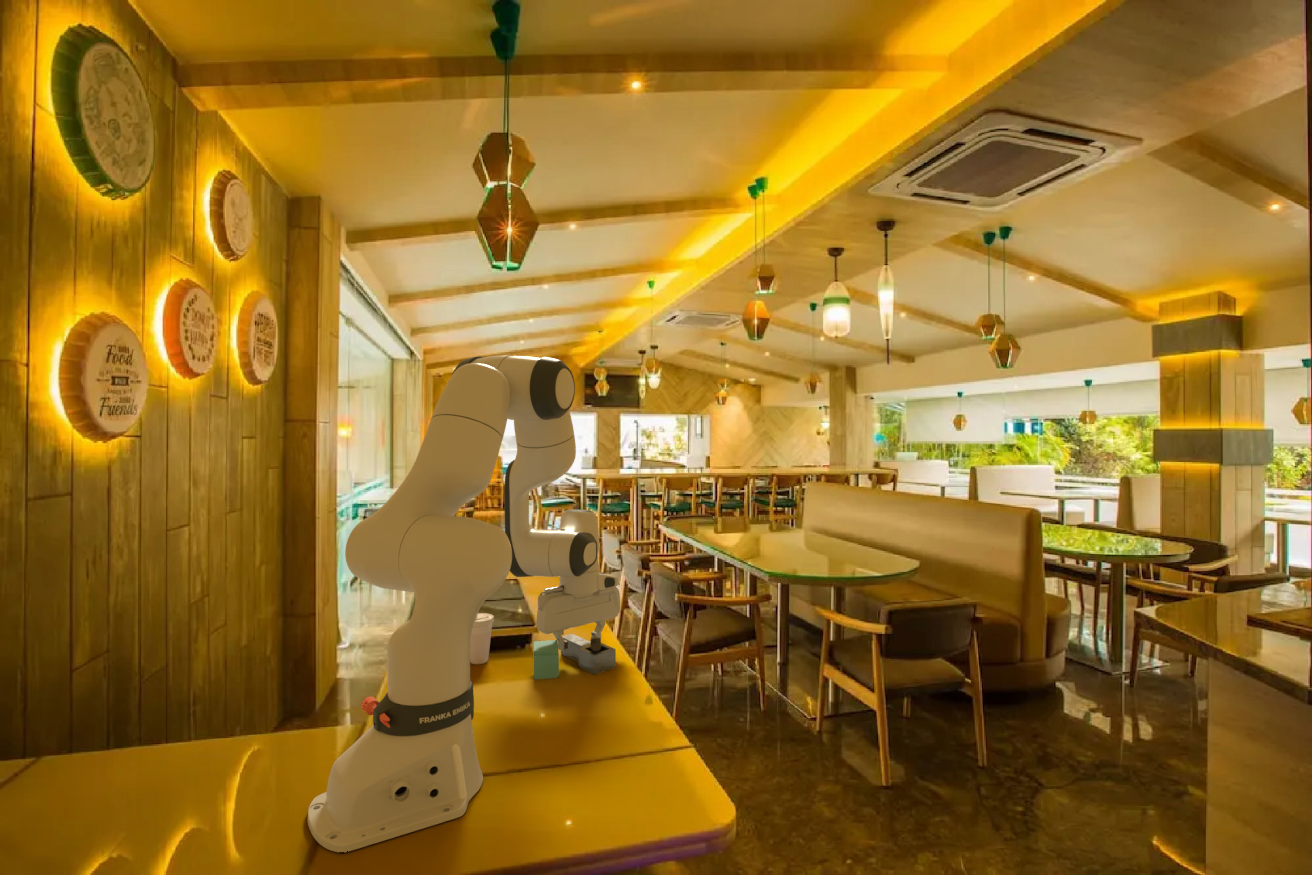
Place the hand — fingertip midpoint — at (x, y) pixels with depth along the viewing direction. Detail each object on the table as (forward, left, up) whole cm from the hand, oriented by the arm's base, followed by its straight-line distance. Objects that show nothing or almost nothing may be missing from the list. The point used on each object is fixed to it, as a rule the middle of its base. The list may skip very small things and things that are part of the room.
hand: (579, 644), depth 139 cm
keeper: (-9, -1, -3) cm, 10 cm away
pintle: (0, -6, -3) cm, 7 cm away
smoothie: (-17, +14, -4) cm, 22 cm away
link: (0, -2, -3) cm, 4 cm away
